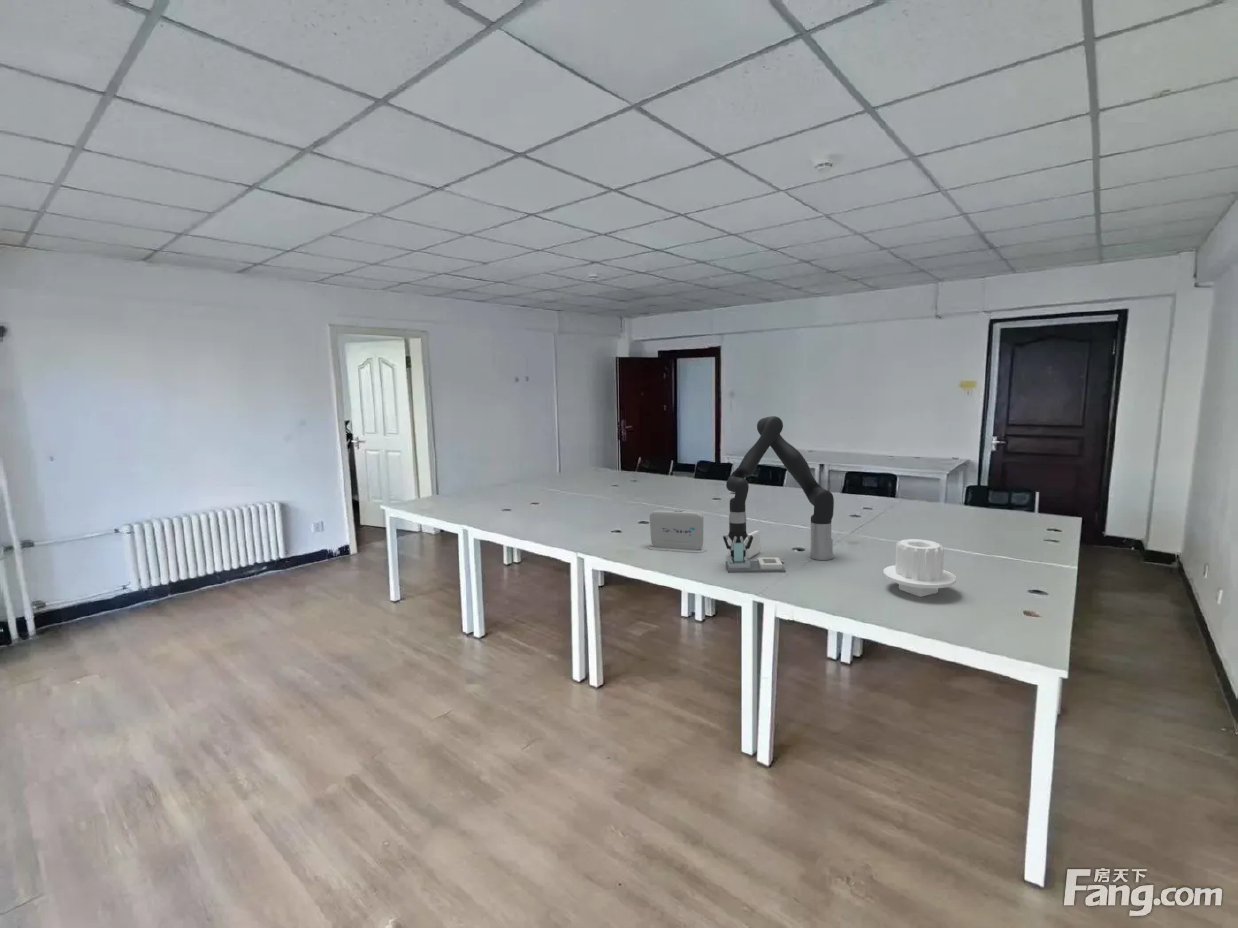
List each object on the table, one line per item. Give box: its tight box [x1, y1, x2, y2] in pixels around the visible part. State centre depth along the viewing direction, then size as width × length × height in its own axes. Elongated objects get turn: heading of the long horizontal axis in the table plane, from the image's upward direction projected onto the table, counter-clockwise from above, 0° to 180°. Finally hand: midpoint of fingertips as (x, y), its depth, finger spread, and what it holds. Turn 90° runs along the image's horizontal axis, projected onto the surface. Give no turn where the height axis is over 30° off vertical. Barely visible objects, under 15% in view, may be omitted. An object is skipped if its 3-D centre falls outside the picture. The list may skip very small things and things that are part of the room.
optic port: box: [726, 556, 750, 569], centre depth 259 cm, size 10×10×3 cm
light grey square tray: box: [756, 557, 783, 569], centre depth 257 cm, size 10×10×2 cm
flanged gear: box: [882, 538, 957, 598], centre depth 220 cm, size 25×25×19 cm
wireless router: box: [647, 509, 708, 554], centre depth 292 cm, size 31×10×20 cm, turn 68°
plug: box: [733, 543, 743, 562], centre depth 258 cm, size 4×5×10 cm
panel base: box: [724, 560, 786, 574], centre depth 258 cm, size 25×14×1 cm, turn 84°
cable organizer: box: [727, 530, 761, 560], centre depth 278 cm, size 15×11×12 cm
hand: (738, 557), depth 259 cm, fingers closed on plug, 4 cm apart
